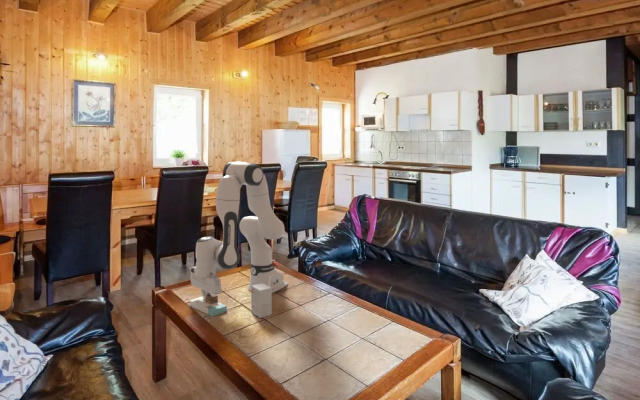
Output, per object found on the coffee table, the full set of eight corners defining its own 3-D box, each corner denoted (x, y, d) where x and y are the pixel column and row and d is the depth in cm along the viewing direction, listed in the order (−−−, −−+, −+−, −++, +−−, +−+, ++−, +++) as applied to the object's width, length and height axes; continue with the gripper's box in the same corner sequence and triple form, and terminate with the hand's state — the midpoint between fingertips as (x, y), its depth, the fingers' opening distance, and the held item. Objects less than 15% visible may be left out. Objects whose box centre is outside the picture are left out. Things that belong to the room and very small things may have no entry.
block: (212, 299, 198) (212, 293, 198) (217, 302, 196) (217, 295, 195) (205, 302, 195) (205, 295, 195) (210, 304, 193) (210, 297, 192)
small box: (272, 314, 189) (272, 287, 187) (260, 318, 185) (260, 290, 183) (262, 309, 195) (262, 282, 193) (250, 312, 191) (250, 285, 189)
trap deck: (203, 300, 203) (203, 295, 203) (226, 310, 192) (226, 305, 191) (189, 305, 197) (189, 300, 197) (212, 316, 186) (212, 311, 185)
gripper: (224, 274, 191) (224, 302, 193) (199, 264, 204) (199, 291, 206) (213, 277, 186) (213, 306, 188) (187, 267, 199) (188, 295, 201)
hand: (206, 298), depth 197 cm, fingers closed
